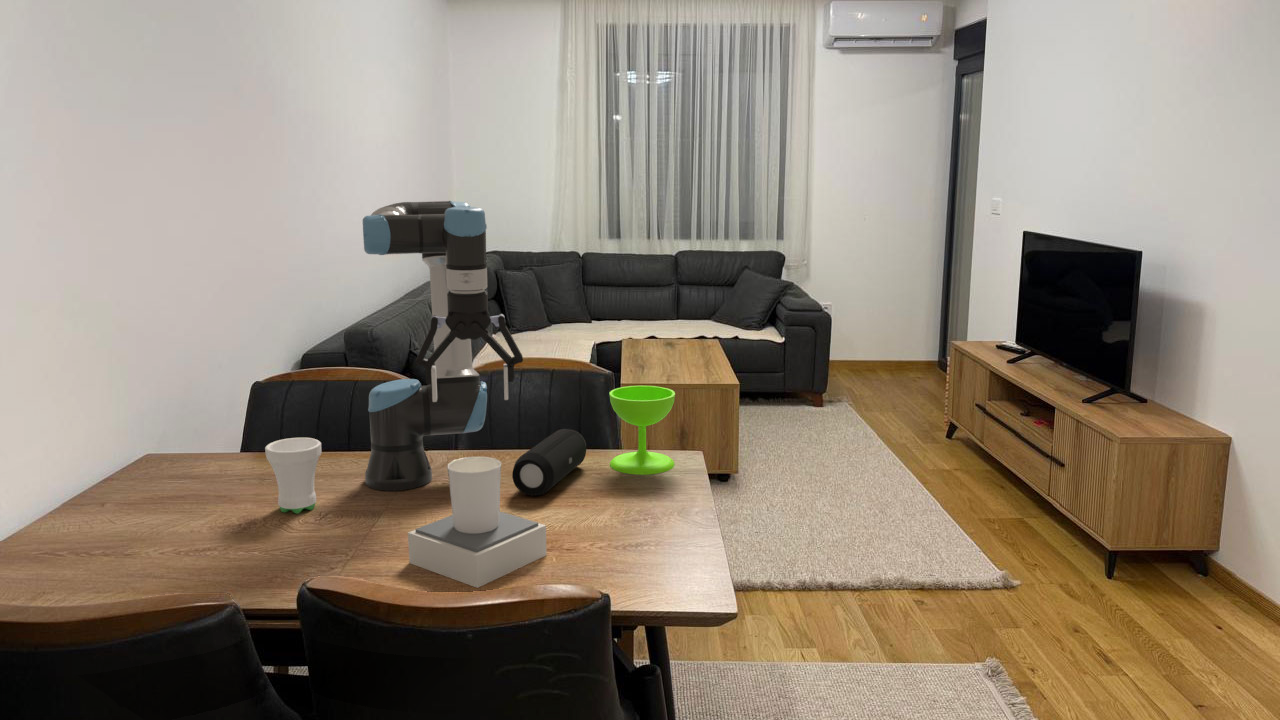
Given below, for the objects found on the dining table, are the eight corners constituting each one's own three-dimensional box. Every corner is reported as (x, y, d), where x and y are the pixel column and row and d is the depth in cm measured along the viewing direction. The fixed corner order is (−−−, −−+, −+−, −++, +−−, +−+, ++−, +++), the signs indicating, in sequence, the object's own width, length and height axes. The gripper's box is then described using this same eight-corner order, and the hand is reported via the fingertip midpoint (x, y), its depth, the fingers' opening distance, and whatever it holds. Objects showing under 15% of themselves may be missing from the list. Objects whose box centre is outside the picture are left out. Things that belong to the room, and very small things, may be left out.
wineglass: (599, 470, 237) (598, 397, 233) (624, 452, 251) (623, 383, 248) (661, 477, 231) (662, 403, 227) (683, 458, 246) (684, 388, 242)
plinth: (409, 563, 182) (407, 529, 181) (479, 533, 197) (478, 502, 195) (477, 587, 172) (476, 552, 171) (546, 555, 186) (545, 522, 185)
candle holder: (452, 517, 187) (450, 457, 185) (504, 515, 188) (502, 455, 186) (447, 536, 178) (444, 473, 175) (501, 534, 178) (499, 471, 176)
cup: (335, 507, 211) (330, 444, 208) (286, 521, 203) (281, 455, 200) (308, 495, 219) (304, 434, 216) (260, 508, 211) (255, 444, 208)
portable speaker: (550, 501, 215) (549, 458, 213) (508, 497, 218) (507, 454, 216) (589, 467, 239) (589, 427, 237) (552, 463, 242) (551, 424, 240)
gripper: (397, 294, 179) (402, 406, 184) (534, 292, 183) (536, 402, 188) (401, 288, 186) (406, 395, 191) (533, 286, 190) (534, 392, 195)
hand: (470, 399), depth 190 cm, fingers open, 13 cm apart
